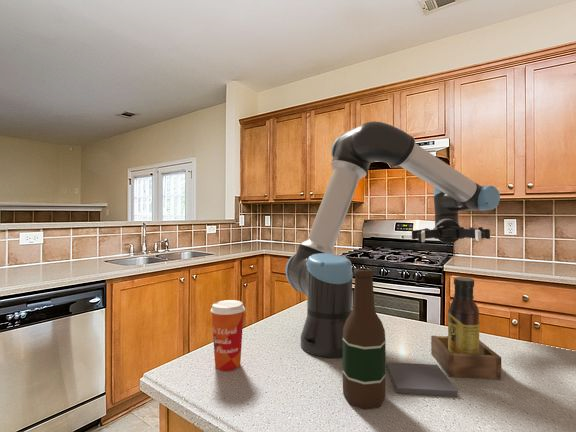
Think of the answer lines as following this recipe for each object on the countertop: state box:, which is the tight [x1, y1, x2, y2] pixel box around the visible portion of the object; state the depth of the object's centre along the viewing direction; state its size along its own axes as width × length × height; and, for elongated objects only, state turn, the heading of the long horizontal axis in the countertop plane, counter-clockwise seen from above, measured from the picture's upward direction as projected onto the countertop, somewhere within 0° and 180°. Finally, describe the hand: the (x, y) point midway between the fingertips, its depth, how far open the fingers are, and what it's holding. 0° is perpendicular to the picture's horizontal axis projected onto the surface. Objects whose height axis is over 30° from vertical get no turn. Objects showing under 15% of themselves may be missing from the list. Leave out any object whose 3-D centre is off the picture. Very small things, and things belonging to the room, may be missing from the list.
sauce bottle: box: [447, 276, 480, 355], centre depth 74 cm, size 7×6×20 cm
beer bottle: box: [342, 267, 387, 410], centre depth 61 cm, size 8×8×24 cm
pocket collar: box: [430, 335, 502, 380], centre depth 74 cm, size 10×11×4 cm
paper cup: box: [210, 299, 246, 372], centre depth 74 cm, size 8×8×14 cm
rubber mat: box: [386, 361, 458, 397], centre depth 67 cm, size 11×11×1 cm
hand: (450, 236), depth 87 cm, fingers open, 13 cm apart
